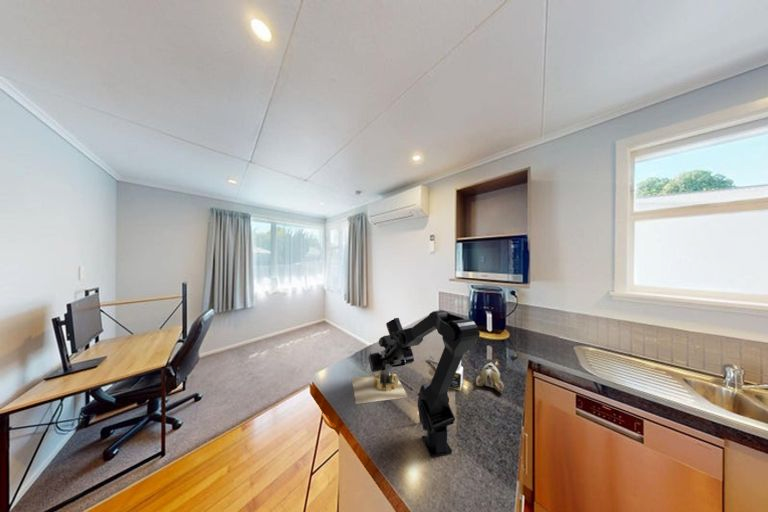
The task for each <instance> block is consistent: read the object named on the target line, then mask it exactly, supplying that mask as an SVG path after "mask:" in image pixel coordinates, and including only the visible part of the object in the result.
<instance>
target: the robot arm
mask: <svg viewBox="0 0 768 512" xmlns="http://www.w3.org/2000/svg"><path fill="white" fill-rule="evenodd" d="M400 320H401V319H400V318H399V317H394V318H393V319H391V320H389V321H387V322H386V324H385V325H386V329H387V332H388V334H387V335H384V336H381V337H380V338H379V339H378V345H379V346H380V347H381V348H382V347H383V348H384V352H385V354H386V355H384V357H385V358H382V355H381V353H380V352H373V353H370V354H369V355H368V357H367V359H368V361H369V362H368V363H369V366H370V370H371V372H372V373H376V372H380V371H382V370H386V368H385V366H386V364H389V365H390V366H392V368H396V367H404V366H405V365H412V364H413V363H414V361H415V357H414V355H413V354H414V352H413V349H412V347H415V346H419V345H420V344H421V343H422V342H423V341H424V338H425V337H426V336H427V335H430V334H431V333H433V332H434V331H436V330H437V334H439V335H441V337H442V342H443V345H444V347H443V350H442V353H441V356H440V358H439V360H438V362H439V363H438V365H436V368H435V371H434V374H433V376H432V378H431V381H430V382H428V383H425V384H422V385H421V386H420V389H419V392H418V393H417V396H418V398H417V410H418V417H419V422H420V424H421V425H422V429H423V430H425V431H426V434H425V435H422V436H421V440H422V442H423V444H424V446H425V449H426V450H427V452H428V454H429V456H430V457H431V458H435V457H440V456H445V455H449V454H452V453H453V450H452V447H451V446H450V445H449V443H448V426H450V425H453V424H454V423H455V421H456V417H455V415H454V413H453V411H452V408H451V405H450V404H449V402H450V398H449V397H450V396H449V395H448V392H449V389H450V388H449V387H450V385H451V382H452V380H453V378H454V375H455V373H456V371H457V368H458V366H459V364H460V361H461V362H462V359H463V356H464V355H465V354H466V353H467V352H468V351H469V350H470V349H472V348H473V347H474V345H476V343H477V341H478V340H479V338H480V335H481V334H480V333H481V332H480V330H479V327H478V325H477V324H476V323H475V321H474V320H473V319H470V318H464V317H462V316H459V315H455V314H453V313H450V312H448V311H445V310H433V311H431V312H430V313H429V315H428V316H426V317H424V318H423V319H422V320H420V321H419V322H418V323H416V324H415V325H413V326H410V327H408V328H403V326H402V323H401V321H400ZM386 361H387V362H386Z"/></svg>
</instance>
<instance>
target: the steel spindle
mask: <svg viewBox="0 0 768 512" xmlns="http://www.w3.org/2000/svg"><path fill="white" fill-rule="evenodd" d="M384 350H385V349H384ZM384 350H381V351H380V354H381V355H382V358H385V357H384V355H386V354H385V352H384ZM386 362H387V361H386ZM385 368H386V370H382V371H379V374H380V382H382V383H383V385H385V383H392V373H393V367H392V366H390V365H389V364H386V366H385Z"/></svg>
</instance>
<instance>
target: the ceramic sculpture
mask: <svg viewBox="0 0 768 512" xmlns="http://www.w3.org/2000/svg"><path fill="white" fill-rule="evenodd" d="M500 378H501V373H500V370H499V369H498V368H497V367H496V365H495V364H494V363H493V362H492V361H490V362H489V363H486V364H485V365H484V366H483V368H482V369H481V373H480V375H477V376H476V378H475V385H476V386H478V387H484V386H486V387H489V388H492V389H493V388H494V389H495V390H496V391H497V392H498V393H501V394H502V393H503V392H504V390H505V384H504V382H503V381H502V380H501V379H500Z"/></svg>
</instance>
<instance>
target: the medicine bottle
mask: <svg viewBox="0 0 768 512" xmlns="http://www.w3.org/2000/svg"><path fill="white" fill-rule="evenodd" d="M463 381H464V367H463V366H462V360H461V361H460V364H459V366H458V368H457V371H456V373H455V375H454V378H453V380H452V382H451V385H450V387H449V389H454V390H456V391H462V386H463Z"/></svg>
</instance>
